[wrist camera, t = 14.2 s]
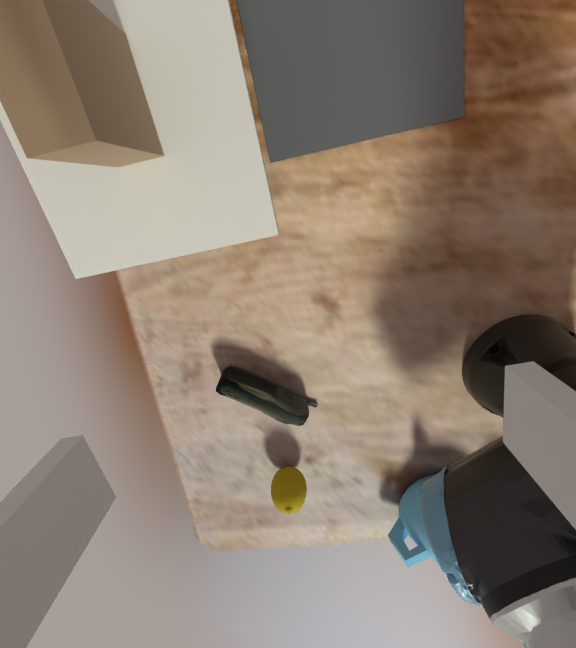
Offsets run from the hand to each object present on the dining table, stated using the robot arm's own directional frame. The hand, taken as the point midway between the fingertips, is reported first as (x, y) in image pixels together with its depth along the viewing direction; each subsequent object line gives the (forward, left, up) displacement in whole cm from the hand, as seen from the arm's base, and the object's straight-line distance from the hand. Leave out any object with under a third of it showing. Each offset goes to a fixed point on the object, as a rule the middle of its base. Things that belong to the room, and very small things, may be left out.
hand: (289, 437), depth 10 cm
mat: (-10, -22, -33) cm, 41 cm away
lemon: (+8, +36, -34) cm, 50 cm away
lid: (+9, -14, -19) cm, 25 cm away
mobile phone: (+7, +20, -34) cm, 40 cm away
